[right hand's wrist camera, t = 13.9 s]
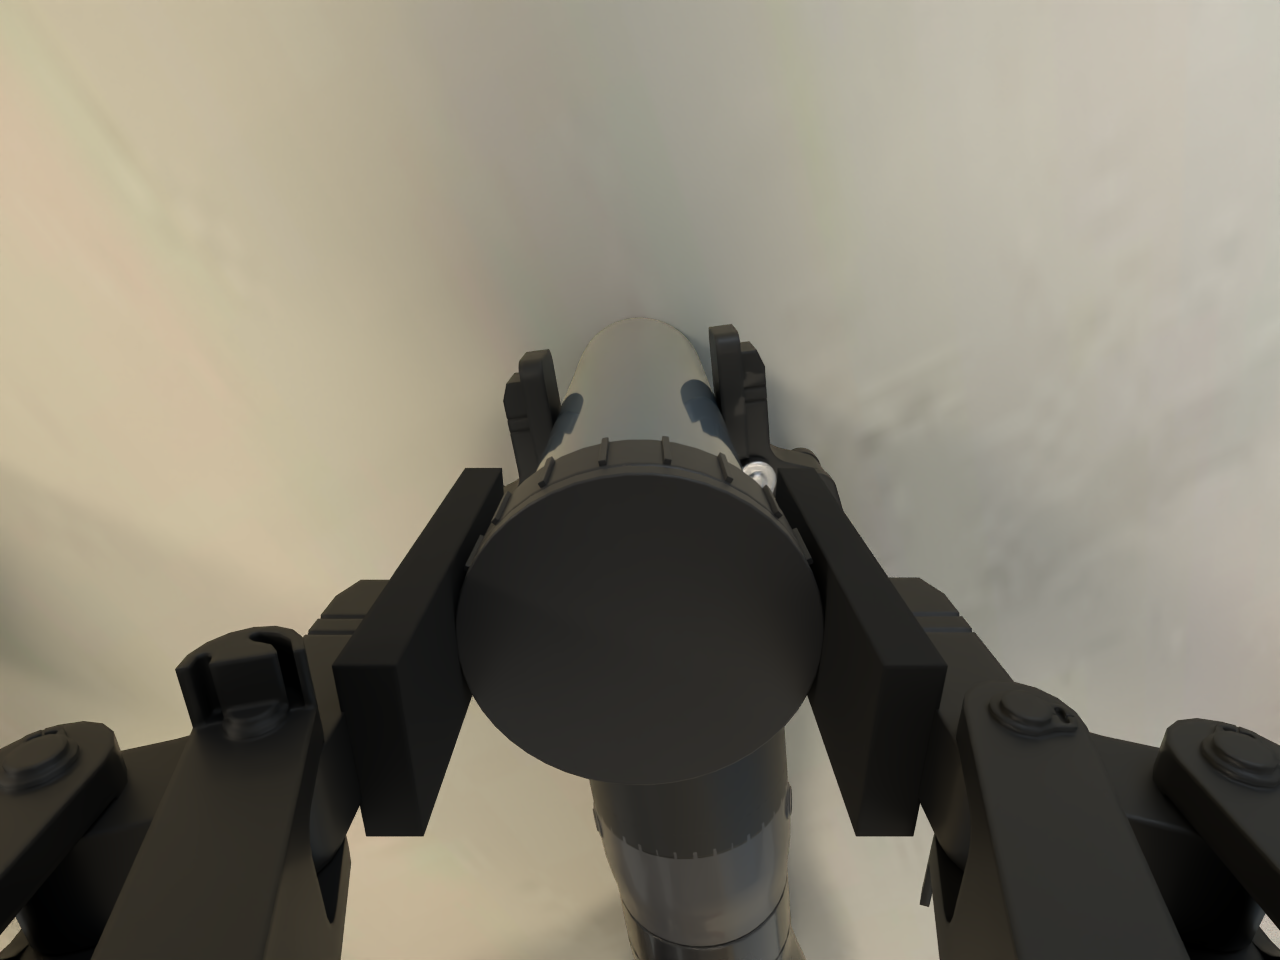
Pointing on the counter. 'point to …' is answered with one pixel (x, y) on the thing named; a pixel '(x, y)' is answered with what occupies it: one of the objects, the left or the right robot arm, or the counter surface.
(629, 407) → the jar
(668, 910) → the left robot arm
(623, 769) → the lid
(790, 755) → the counter surface
